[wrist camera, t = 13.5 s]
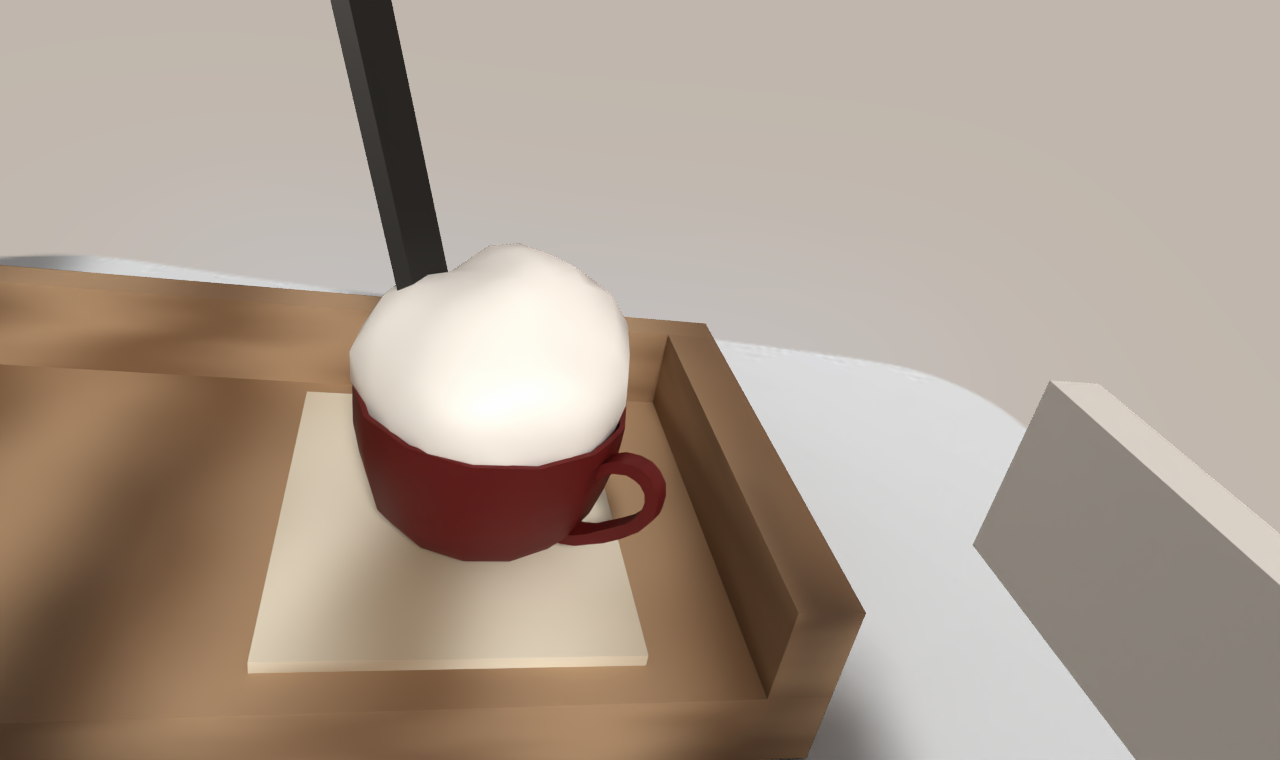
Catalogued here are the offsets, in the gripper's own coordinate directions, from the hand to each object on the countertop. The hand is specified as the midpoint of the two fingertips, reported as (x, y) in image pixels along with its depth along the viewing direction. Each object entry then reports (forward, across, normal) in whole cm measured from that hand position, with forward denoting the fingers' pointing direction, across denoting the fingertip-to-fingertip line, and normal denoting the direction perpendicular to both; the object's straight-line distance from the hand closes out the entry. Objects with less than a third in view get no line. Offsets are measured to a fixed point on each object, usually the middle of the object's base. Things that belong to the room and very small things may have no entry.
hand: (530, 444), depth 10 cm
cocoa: (+10, +1, -9) cm, 13 cm away
